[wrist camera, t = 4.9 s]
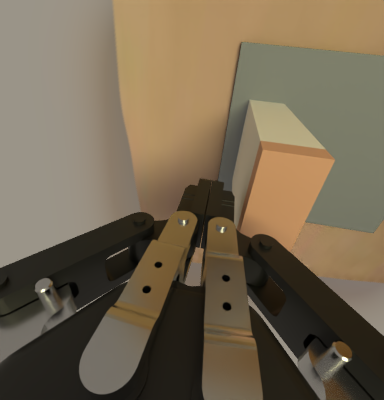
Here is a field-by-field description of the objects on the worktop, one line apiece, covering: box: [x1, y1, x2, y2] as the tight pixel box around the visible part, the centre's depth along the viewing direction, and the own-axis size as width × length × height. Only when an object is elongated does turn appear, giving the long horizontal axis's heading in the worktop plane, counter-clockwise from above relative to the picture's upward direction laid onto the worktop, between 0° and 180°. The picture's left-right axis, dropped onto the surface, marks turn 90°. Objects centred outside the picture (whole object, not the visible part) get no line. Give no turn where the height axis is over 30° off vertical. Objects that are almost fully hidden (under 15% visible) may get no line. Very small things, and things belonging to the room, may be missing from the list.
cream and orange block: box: [232, 100, 335, 277], centre depth 17 cm, size 3×8×12 cm, turn 175°
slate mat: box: [218, 42, 384, 233], centre depth 21 cm, size 18×16×1 cm
